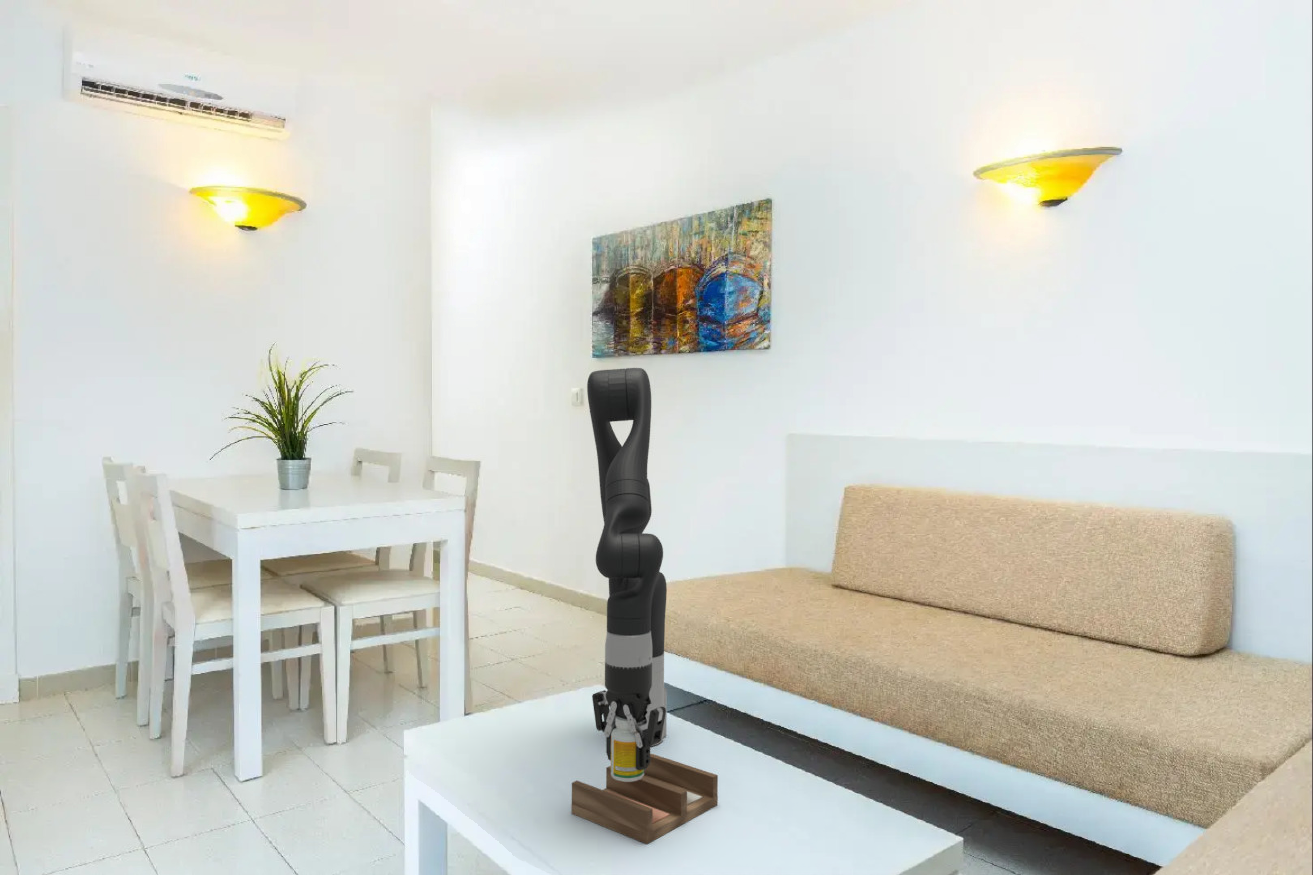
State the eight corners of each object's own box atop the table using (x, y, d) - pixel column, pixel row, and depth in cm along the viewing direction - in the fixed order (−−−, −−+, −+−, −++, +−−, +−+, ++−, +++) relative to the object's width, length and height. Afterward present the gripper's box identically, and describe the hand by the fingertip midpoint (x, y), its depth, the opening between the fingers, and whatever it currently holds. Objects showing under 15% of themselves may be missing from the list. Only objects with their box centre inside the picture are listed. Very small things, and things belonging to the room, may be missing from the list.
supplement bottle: (605, 772, 151) (605, 713, 151) (635, 767, 154) (636, 709, 153) (618, 785, 146) (619, 724, 146) (649, 779, 149) (650, 719, 148)
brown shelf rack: (643, 778, 166) (644, 751, 166) (717, 804, 156) (717, 775, 155) (571, 813, 152) (571, 782, 152) (646, 844, 142) (647, 811, 142)
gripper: (678, 662, 148) (677, 768, 148) (611, 646, 157) (610, 746, 158) (647, 672, 142) (646, 783, 143) (579, 655, 151) (578, 759, 152)
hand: (627, 763), depth 150 cm, fingers closed on supplement bottle, 5 cm apart
